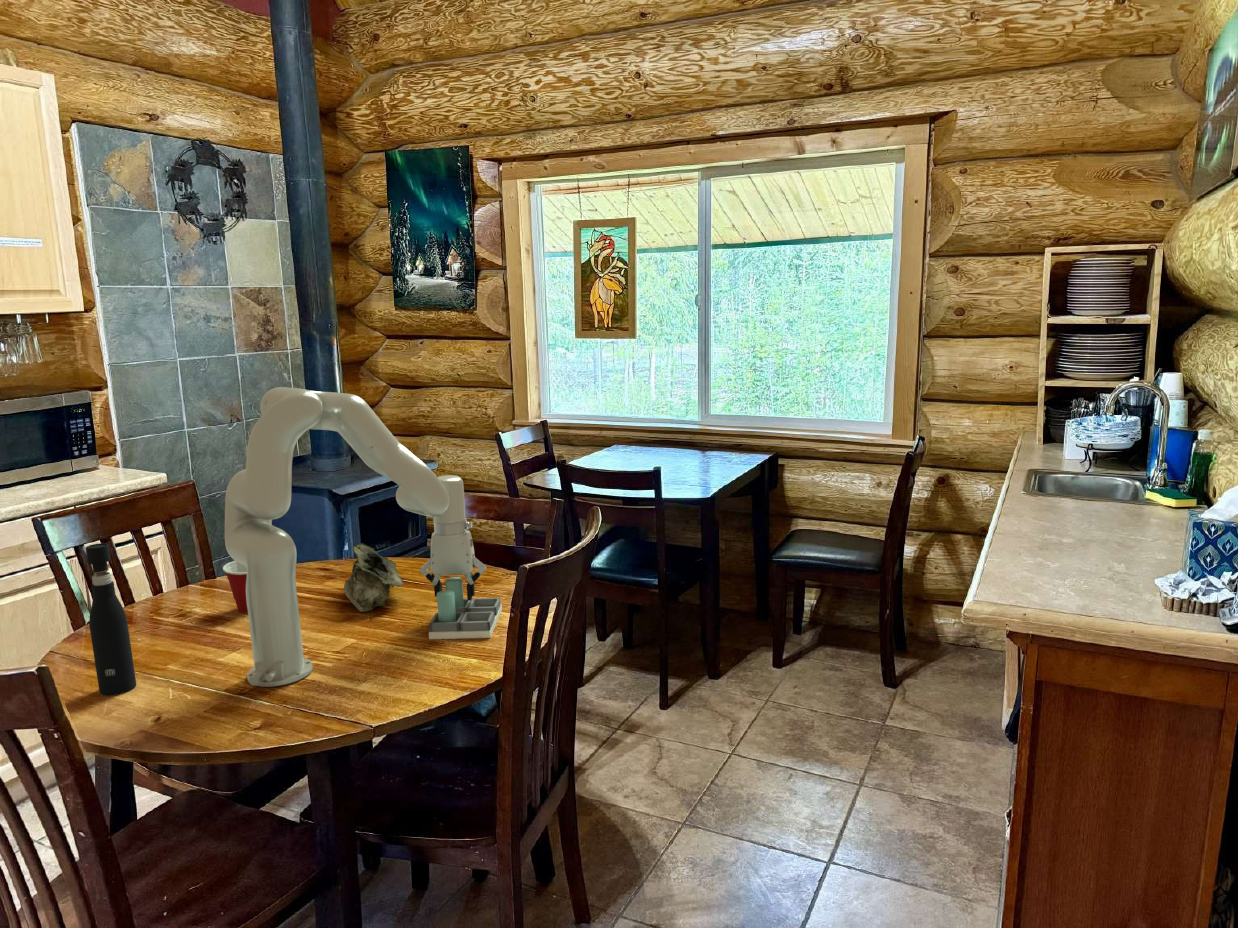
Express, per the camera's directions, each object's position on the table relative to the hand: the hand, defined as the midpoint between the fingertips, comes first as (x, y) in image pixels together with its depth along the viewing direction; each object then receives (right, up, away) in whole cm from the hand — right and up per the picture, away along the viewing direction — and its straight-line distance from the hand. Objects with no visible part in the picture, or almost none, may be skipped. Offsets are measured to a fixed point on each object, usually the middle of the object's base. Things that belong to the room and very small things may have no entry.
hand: (455, 598), depth 201 cm
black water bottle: (-62, -13, -33) cm, 71 cm away
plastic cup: (-54, -5, +11) cm, 56 cm away
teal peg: (0, -3, +1) cm, 3 cm away
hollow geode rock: (-25, -3, +18) cm, 31 cm away
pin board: (+4, -5, -4) cm, 7 cm away
